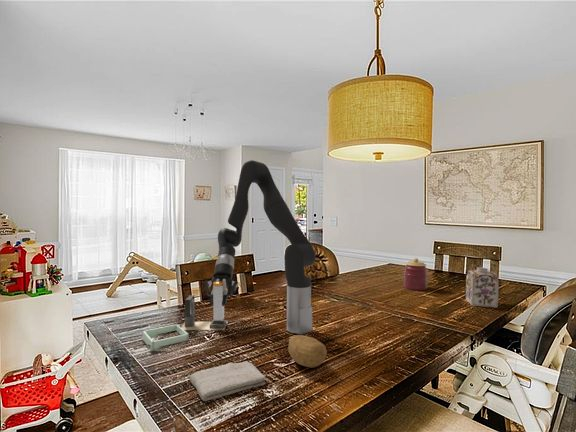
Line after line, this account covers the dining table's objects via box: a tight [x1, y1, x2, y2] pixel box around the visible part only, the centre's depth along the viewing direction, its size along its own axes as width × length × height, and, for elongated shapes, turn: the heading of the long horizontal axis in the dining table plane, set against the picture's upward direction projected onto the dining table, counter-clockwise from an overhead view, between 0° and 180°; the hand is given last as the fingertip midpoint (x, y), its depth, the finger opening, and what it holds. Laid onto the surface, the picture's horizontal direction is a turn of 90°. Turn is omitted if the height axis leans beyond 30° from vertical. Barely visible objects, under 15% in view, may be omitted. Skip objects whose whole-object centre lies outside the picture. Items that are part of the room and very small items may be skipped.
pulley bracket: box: [180, 295, 228, 331], centre depth 132 cm, size 17×9×12 cm, turn 92°
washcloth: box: [188, 360, 266, 402], centre depth 92 cm, size 12×18×3 cm, turn 121°
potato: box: [287, 334, 328, 369], centre depth 103 cm, size 10×14×8 cm
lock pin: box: [212, 281, 225, 320], centre depth 132 cm, size 4×4×14 cm
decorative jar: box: [465, 266, 500, 309], centre depth 170 cm, size 12×12×18 cm
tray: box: [141, 323, 190, 352], centre depth 119 cm, size 12×12×3 cm
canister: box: [403, 257, 428, 291], centre depth 202 cm, size 13×13×18 cm
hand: (217, 305), depth 130 cm, fingers closed on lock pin, 3 cm apart
